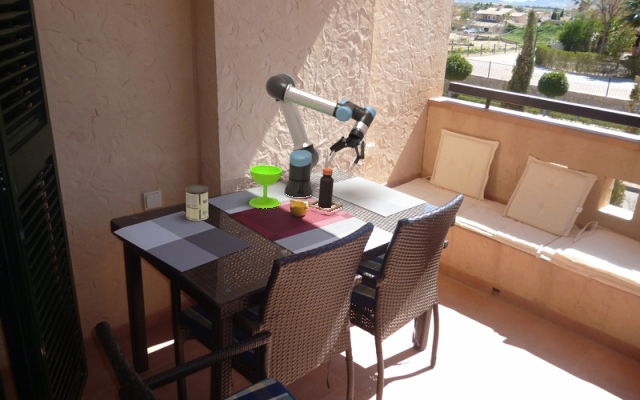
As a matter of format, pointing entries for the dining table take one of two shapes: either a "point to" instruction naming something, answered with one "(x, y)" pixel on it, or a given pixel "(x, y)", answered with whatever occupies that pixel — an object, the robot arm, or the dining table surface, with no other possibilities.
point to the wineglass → (265, 184)
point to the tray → (323, 208)
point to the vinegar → (326, 189)
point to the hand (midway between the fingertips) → (339, 165)
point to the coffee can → (197, 202)
